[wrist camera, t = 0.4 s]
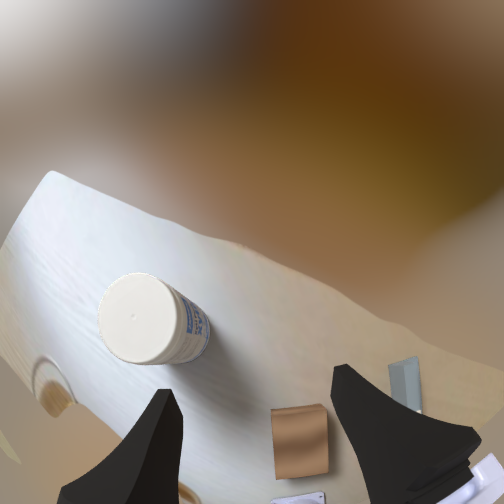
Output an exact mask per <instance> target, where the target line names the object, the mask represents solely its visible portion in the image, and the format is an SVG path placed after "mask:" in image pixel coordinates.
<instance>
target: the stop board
mask: <svg viewBox="0 0 504 504" xmlns="http://www.w3.org/2000/svg"><path fill="white" fill-rule="evenodd" d="M388 366H389V374H390V383H391V393H392V399H394V400H395V401H397V402H399V403H400V404H402V405H404V406H406V407H408V408H410V409H412V410H414V411H416V412H418V413H420V414H422V399H421V385H420V375H419V365H418V357H417V356H415V357H412V358H409V359H406V360H403V361H400V362H397V363H394V364H391V365H388Z"/></svg>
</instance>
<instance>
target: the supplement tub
mask: <svg viewBox="0 0 504 504" xmlns="http://www.w3.org/2000/svg"><path fill="white" fill-rule="evenodd" d="M98 328H99V332H100V335H101V338H102V340H103V342H104V344H105V346H106V347H107V348H108V350H109V351H110V352H111V353H112V354H113V355H114V356H116V357H117V358H119V359H121V360H123V361H125V362H128V363H133V364H137V365H162V364H178V363H186V362H189V361H192V360H194V359H196V358H197V357H198V356H199V355H200V354H201V353H202V352H203V351H204V350H205V348H206V346H207V344H208V341H209V337H210V327H209V322H208V319H207V317H206V315H205V313H204V312H203V311H202V310H201V309H200V308H199V307H198V306H197V305H196V304H195V303H193V302H192V301H190V300H189V299H187V298H186V297H185V296H183V295H182V294H181V293H179V292H178V291H177V290H175V289H174V288H173V287H171V286H170V285H169V284H167V283H166V282H164V281H163V280H161V279H159V278H157V277H154V276H152V275H150V274H146V273H131V274H127V275H125V276H122V277H120V278H119V279H117V280H116V281H115V282H113V283H112V284H111V285H110V287H109V288H108V289H107V290H106V292H105V293H104V295H103V297H102V300H101V302H100V305H99V310H98Z"/></svg>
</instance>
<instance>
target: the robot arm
mask: <svg viewBox="0 0 504 504" xmlns="http://www.w3.org/2000/svg"><path fill="white" fill-rule="evenodd" d="M330 396H331V399H332V402H333V406H334V408H335V411H336V414H337V416H338V418H339V420H340V422H341V424H342V426H343V428H344V430H345V432H346V434H347V436H348V438H349V440H350V442H351V444H352V446H353V448H354V451H355V453H356V455H357V458H358V461H359V464H360V467H361V470H362V473H363V476H364V480H365V483H366V487H367V490H368V494H369V498H370V502H371V504H493V503H494V502H495V501H496V500H497V499H498V498H499V497H500V496H501V495H502V494H503V493H504V469H503V468H502V466H501V465H500V463H499V462H498V461H497V459H496V458H495V456H494V455H493V454H492V453H490V454H489V455H487V456H486V457H485V458H484V459H483V460H481V461H480V462H479V463H478V464H476V465H475V466H474V467H473V468H472V469H471V470H470V469H469V467H468V466H469V465H470V462H469V460H468V458H469V456H470V455H471V454H472V453H473V452H474V451H475V450H476V449H477V448H478V446H479V445H480V443H481V441H482V440H481V438H480V436H479V435H478V434H477V432H476V431H475V430H474V429H473V428H472V427H468V426H462V425H456V424H451V423H447V422H443V421H440V420H437V419H434V418H431V417H428V416H425V415H423V414H420V413H418V412H416V411H414V410H412V409H410V408H408V407H406V406H404V405H402V404H400V403H399V402H397V401H395V400H394V399H392V398H391V397H389V396H388V395H386V394H385V393H383V392H382V391H380V390H379V389H378V388H376V387H375V386H374V385H372V384H371V383H370V382H368V381H367V380H366V379H365V378H363V377H362V376H361V375H360V374H359V373H357V372H356V371H355V370H354V369H353V368H351V367H350V366H349V365H348V364H343V365H339V366H335V367H334V372H333V380H332V388H331V395H330ZM182 441H183V415H182V413H181V411H180V408H179V406H178V404H177V402H176V399H175V397H174V394H173V392H172V390H171V389H158V390H157V391H156V393H155V395H154V396H153V398H152V399H151V401H150V403H149V404H148V406H147V407H146V409H145V410H144V412H143V413H142V415H141V416H140V418H139V419H138V421H137V422H136V424H135V425H134V426H133V428H132V429H131V430H130V432H129V433H128V434H127V435H126V437H125V438H124V439H123V440H122V442H121V443H120V444H119V445H118V446H117V447H116V448H115V449H114V450H113V451H112V452H111V453H110V454H109V455H108V456H107V457H106V458H105V459H104V460H103V461H102V462H100V463H99V464H98V465H97V466H96V467H94V468H93V469H91V470H90V471H89V472H87V473H86V474H84V475H83V476H81V477H80V478H78V479H76V480H75V481H73V482H71V483H69V484H67V485H65V486H63V487H62V488H61V491H60V494H59V498H58V501H57V504H179V495H178V475H179V465H180V457H181V449H182ZM320 496H322V497H320ZM274 503H276V504H325V503H324V493H323V492H316V493H311V494H306V495H300V496H294V497H287V498H279V499H273V500H272V501H271V504H274Z"/></svg>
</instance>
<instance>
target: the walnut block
mask: <svg viewBox="0 0 504 504" xmlns="http://www.w3.org/2000/svg"><path fill="white" fill-rule="evenodd" d="M271 421H272V434H273V448H274V462H275V474H276V480H279V479H289V478H297V477H305V476H311V475H317V474H323V473H328V472H329V470H328V430H327V409H326V408H325V407H323V406H322V405H321V404H313V405H307V406H299V407H291V408H281V409H271Z"/></svg>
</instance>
